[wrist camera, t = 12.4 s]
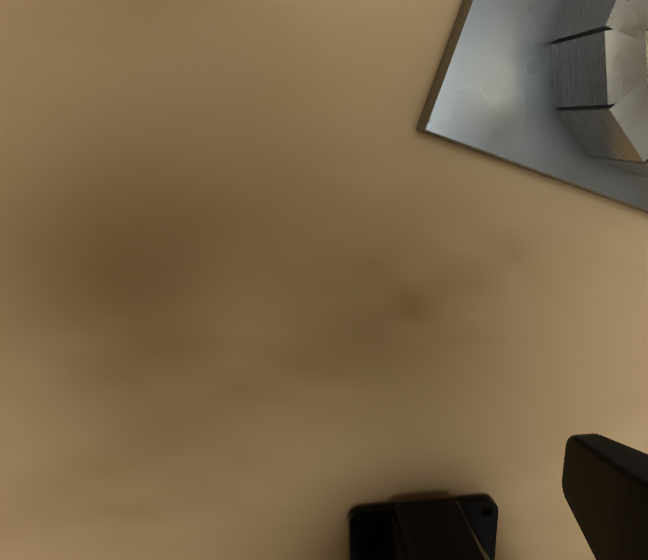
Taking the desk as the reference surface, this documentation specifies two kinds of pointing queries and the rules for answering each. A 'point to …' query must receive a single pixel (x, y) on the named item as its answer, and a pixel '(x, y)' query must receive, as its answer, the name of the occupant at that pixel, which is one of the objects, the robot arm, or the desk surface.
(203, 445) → the desk surface
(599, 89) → the plate with ring collar
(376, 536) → the robot arm
